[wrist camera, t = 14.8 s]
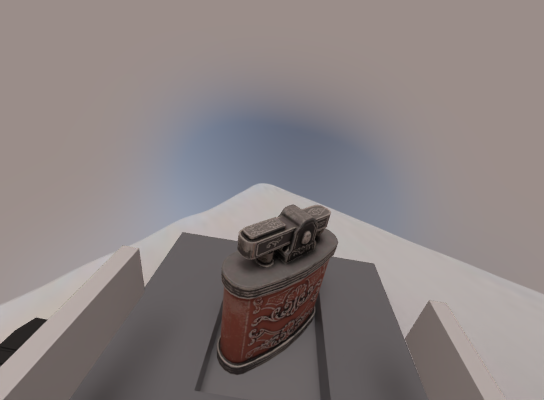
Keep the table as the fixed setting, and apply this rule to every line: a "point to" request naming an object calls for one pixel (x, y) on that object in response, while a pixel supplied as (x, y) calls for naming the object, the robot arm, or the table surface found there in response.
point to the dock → (273, 374)
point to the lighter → (272, 286)
